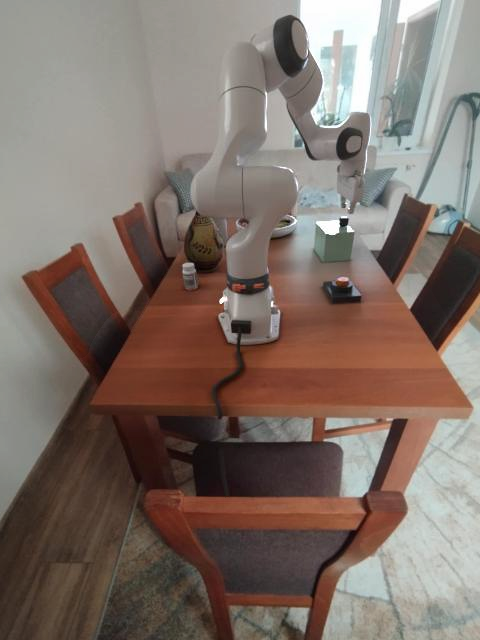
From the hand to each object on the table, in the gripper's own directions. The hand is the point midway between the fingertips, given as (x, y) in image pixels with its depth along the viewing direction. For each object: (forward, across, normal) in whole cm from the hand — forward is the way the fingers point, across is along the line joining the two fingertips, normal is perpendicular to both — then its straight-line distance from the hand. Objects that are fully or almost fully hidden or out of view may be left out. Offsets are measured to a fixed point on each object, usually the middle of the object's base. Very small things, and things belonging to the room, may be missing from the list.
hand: (346, 210), depth 126 cm
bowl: (+16, +38, +27) cm, 50 cm away
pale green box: (+17, 0, +4) cm, 17 cm away
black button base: (+17, -36, +11) cm, 42 cm away
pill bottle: (+17, -23, +61) cm, 67 cm away
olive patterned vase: (+17, +23, +53) cm, 60 cm away
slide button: (+6, 0, 0) cm, 6 cm away
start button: (+14, -37, +11) cm, 40 cm away
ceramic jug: (+17, -5, +56) cm, 59 cm away
